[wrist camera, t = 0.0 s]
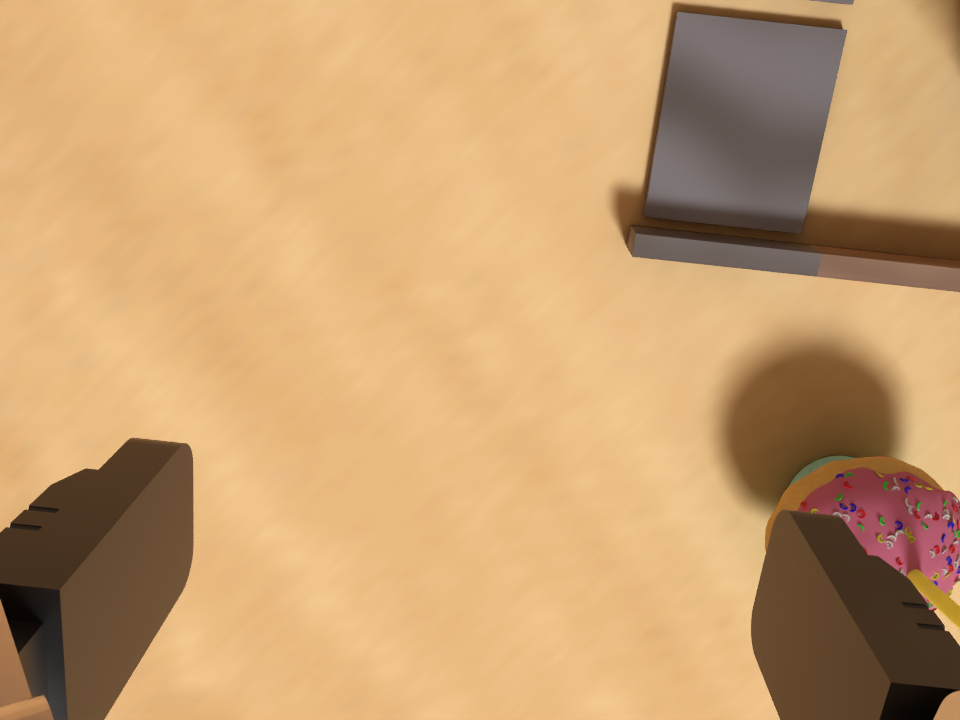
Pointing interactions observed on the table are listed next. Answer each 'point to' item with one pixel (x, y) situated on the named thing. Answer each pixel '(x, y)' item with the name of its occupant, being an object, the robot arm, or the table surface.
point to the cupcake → (888, 518)
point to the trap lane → (754, 153)
